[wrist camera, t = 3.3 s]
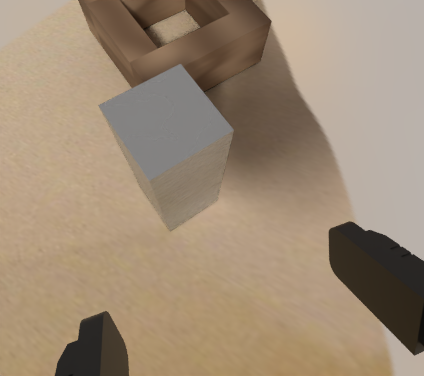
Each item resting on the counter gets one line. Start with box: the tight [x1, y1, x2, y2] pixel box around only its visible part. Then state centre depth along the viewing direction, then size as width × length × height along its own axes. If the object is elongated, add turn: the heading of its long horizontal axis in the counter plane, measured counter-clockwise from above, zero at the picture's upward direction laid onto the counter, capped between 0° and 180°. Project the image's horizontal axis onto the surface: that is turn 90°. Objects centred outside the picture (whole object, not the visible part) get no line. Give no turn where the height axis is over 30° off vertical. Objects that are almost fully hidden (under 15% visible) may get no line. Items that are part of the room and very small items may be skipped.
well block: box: [78, 0, 271, 92], centre depth 27 cm, size 12×12×4 cm
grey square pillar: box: [98, 64, 234, 231], centre depth 19 cm, size 4×4×11 cm
